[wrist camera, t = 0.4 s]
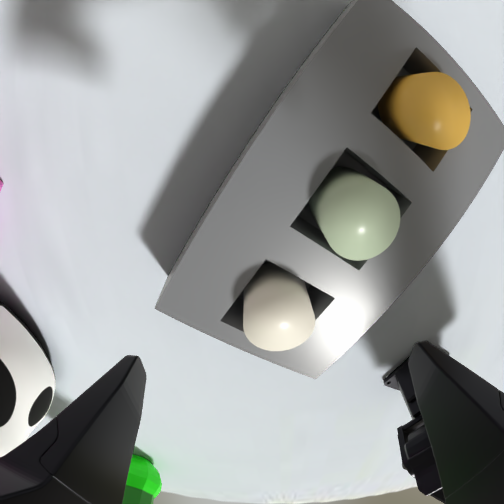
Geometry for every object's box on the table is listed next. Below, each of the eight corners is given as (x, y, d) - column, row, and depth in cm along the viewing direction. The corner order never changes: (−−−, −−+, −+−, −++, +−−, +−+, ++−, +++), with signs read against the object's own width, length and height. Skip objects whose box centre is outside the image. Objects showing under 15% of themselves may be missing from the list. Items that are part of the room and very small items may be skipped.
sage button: (384, 192, 18) (414, 213, 14) (346, 242, 19) (366, 273, 16) (335, 153, 17) (358, 165, 13) (295, 209, 18) (307, 234, 15)
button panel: (476, 128, 17) (510, 136, 13) (308, 344, 25) (315, 379, 22) (348, 4, 13) (370, -16, 10) (167, 276, 22) (154, 308, 18)
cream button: (316, 279, 20) (329, 315, 17) (281, 320, 22) (287, 359, 18) (265, 250, 19) (270, 284, 16) (232, 296, 21) (229, 334, 17)
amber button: (442, 106, 15) (480, 111, 11) (412, 153, 16) (447, 165, 13) (398, 63, 14) (433, 56, 10) (365, 110, 15) (395, 112, 12)
